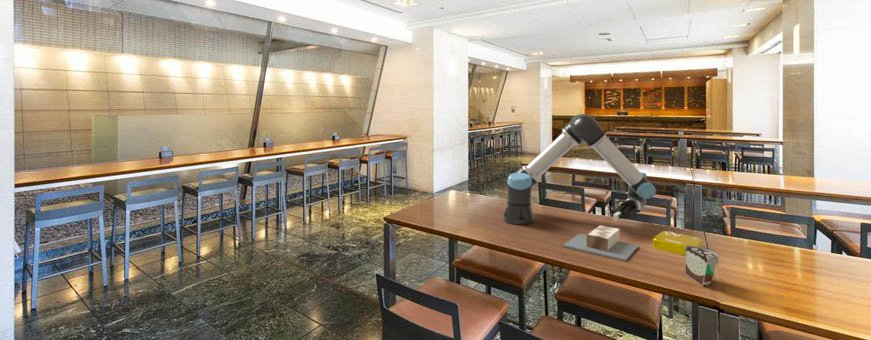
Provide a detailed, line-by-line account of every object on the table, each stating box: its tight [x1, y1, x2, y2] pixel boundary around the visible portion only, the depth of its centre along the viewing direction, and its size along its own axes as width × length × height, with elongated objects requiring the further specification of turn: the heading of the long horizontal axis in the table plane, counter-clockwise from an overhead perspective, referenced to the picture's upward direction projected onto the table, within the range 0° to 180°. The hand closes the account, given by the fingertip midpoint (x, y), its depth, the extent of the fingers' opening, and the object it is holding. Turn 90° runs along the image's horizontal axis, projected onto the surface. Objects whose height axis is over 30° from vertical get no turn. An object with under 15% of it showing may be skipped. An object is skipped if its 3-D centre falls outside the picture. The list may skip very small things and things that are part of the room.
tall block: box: [586, 224, 621, 251], centre depth 162 cm, size 8×5×16 cm
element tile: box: [651, 230, 704, 256], centre depth 159 cm, size 15×15×5 cm
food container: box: [684, 246, 720, 287], centre depth 129 cm, size 12×6×10 cm, turn 179°
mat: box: [562, 232, 639, 263], centre depth 160 cm, size 24×19×1 cm
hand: (614, 218), depth 171 cm, fingers closed
